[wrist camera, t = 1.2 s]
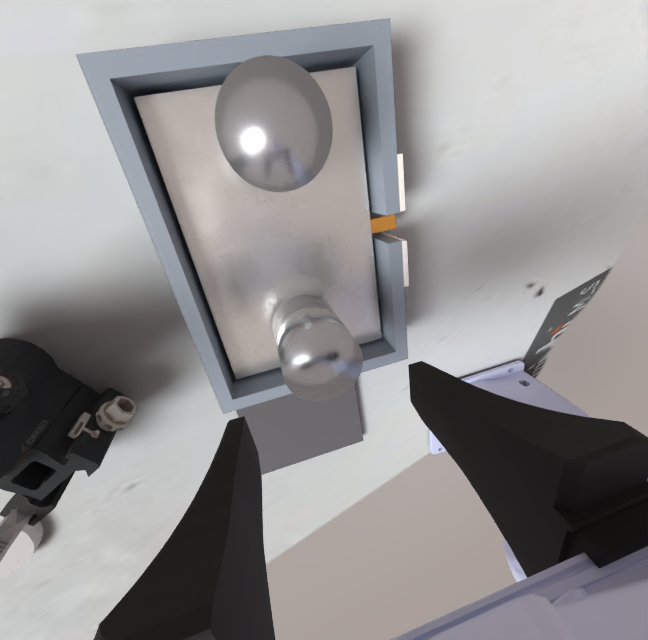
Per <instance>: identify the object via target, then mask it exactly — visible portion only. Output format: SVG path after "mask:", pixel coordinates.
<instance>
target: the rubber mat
mask: <svg viewBox="0 0 648 640" xmlns="http://www.w3.org/2000/svg"><path fill="white" fill-rule="evenodd" d="M236 411H237V414H238V417H243V416H245V419H246V422H247V424H248V427H249V429H250V432H251V435H252V437H253V440H254V442H255V445H256V448H257V450H258V455H259V462H260V469H261V475H262V474H265V473H268V472H271V471H274V470H277V469H280V468H283V467H286V466H289V465H292V464H295V463H298V462H301V461H304V460H307V459H310V458H313V457H316V456H319V455H322V454H325V453H328V452H331V451H334V450H337V449H340V448H343V447H346V446H349V445H352V444H355V443H358V442H361V441H363V435H362V428H361V422H360V415H359V409H358V402H357V395H356V389H355V383H354V384H353V385H352V386H351V387H350V388H349V389H348V390H347V391H346V392H344V393H343V394H341V395H339V396H337V397H335V398H333V399H329V400H325V401H309V400H305V399H302V398H300V397H298V396H296V395H295V394H293V393H292V394H288V395H285V396H282V397H278V398H275V399H272V400H268V401H265V402H262V403H258V404H255V405H252V406H248V407H245V408H242V409H238V410H236Z"/></svg>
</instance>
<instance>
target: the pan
mask: <svg viewBox="0 0 648 640" xmlns="http://www.w3.org/2000/svg"><path fill="white" fill-rule="evenodd" d="M309 74H310V75H311V76H312V77H313V78H314V79H315V80H316V82H317V83H318V85H319V86H320V88H321V89H322V91H323V93H324V95H325V97H326V99H327V102H328V105H329V108H330V111H331V117H332V125H333V137H332V144H331V148H330V152H329V155H328V158H327V160H326V162H325V164H324V166H323V168H322V169H321V171H320V172H319V173H318V174H317V175H316V177H315V178H314V179H313V180H311V181H310V182H309V183H308V184H306V185H304V186H303V187H301V188H298V189H296V190H292V191H288V192H271V191H266V190H263V189H260V188H257V187H254V186H252V185H250V184H248V183H246V182H244V181H243V180H242V179H240V178H239V177H238V176H237V175H236V174H235V173H234V171H233V170H232V169H231V167H230V166H229V164H228V162H227V160H226V158H225V156H224V154H223V152H222V150H221V148H220V145H219V142H218V139H217V134H216V129H215V106H216V100H217V97H218V93H219V91H220V88H221V86H222V85H218V86H211V87H203V88H196V89H189V90H182V91H174V92H167V93H160V94H153V95H145V96H138V97H134V99H135V102H136V104H137V107H138V110H139V113H140V116H141V118H142V121H143V124H144V127H145V129H146V132H147V135H148V138H149V140H150V143H151V146H152V149H153V151H154V154H155V157H156V160H157V162H158V165H159V168H160V171H161V173H162V176H163V179H164V182H165V185H166V187H167V190H168V193H169V196H170V198H171V201H172V204H173V207H174V209H175V212H176V215H177V218H178V220H179V223H180V226H181V229H182V231H183V234H184V237H185V240H186V243H187V245H188V248H189V251H190V254H191V256H192V259H193V262H194V265H195V267H196V270H197V273H198V276H199V278H200V281H201V284H202V287H203V289H204V292H205V295H206V298H207V300H208V303H209V306H210V309H211V312H212V314H213V317H214V320H215V323H216V325H217V328H218V331H219V334H220V336H221V339H222V342H223V345H224V347H225V350H226V353H227V356H228V358H229V361H230V364H231V367H232V369H233V372H234V375H235V378H236V379H240V378H243V377H247V376H250V375H254V374H257V373H261V372H264V371H268V370H271V369H275V368H278V367H281V364H280V360H279V356H278V352H277V348H276V344H275V339H274V335H273V331H272V322H273V318H274V315H275V313H276V311H277V310H278V308H279V307H280V306H281V305H282V304H283V303H284V302H286V301H287V300H289V299H290V298H293V297H295V296H299V295H314V296H317V297H320V298H322V299H323V300H325V301H326V302H327V303H328V304H329V305H330V307H331V308H332V309H333V311H334V312H335V313H336V315H337V316H338V317H339V319H340V320H341V321H342V323H343V324H344V325H345V327H346V328H347V329H348V331H349V332H350V333H351V335H352V336H353V337H354V339H355V340H356V341H357V343H358V344H363V343H366V342H370V341H373V340H377V339H380V338H382V337H381V326H380V316H379V305H378V295H377V285H376V274H375V264H374V253H373V243H372V234H373V233H377V232H382V231H386V230H391V229H395V228H396V220H395V214H391V215H387V216H386V215H381V216H377V217H372V218H370V212H369V201H368V191H367V180H366V170H365V159H364V149H363V139H362V128H361V118H360V107H359V97H358V86H357V76H356V67H349V68H341V69H334V70H327V71H320V72H312V73H309Z"/></svg>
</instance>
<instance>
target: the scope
mask: <svg viewBox="0 0 648 640" xmlns="http://www.w3.org/2000/svg"><path fill="white" fill-rule="evenodd" d="M136 410H137V407H136V405H135V404H134V402H133V400H131V399H130V398H128V397H126V396H124V395H123V394H121V393H119V392H118V391H116V390H114V389H113V388H108V389H107V390H106V391H105V392H104V394H103V396H101V395H100V394H98V393H97V392H96V391H94V390H93V389H92V388H90V387H89V386H87V385H85V384H82V382H80V381H79V380H77V379H75V378H74V377H72V376H70V375H68V374H67V373H65V372H63V371H62V370H60V369H58V367H57V365H56V364H55V362H54V360H53V359H52V357H51V356H50V355H48V354H47V353H46V352H45V351H44V350H43V349H41V348H39V347H37V346H35V345H34V344H31V343H28V342H25V341H21V340H15V339H0V489H2V490H5V491H9V492H14V493H16V494H15V495H14V496H13V497H12V498H11V499H10V501H9V502H8V503H7V504H6V506H5V507H4V509H3V510H2V511H1V513H0V516H3V517H4V519H3V520H2V522H1V523H0V562H1V560H2V559H3V557H4V556H5V554H6V552H7V551H8V549H9V548H10V546H11V545H12V543H13V542H14V541H15V539H16V538H17V536H18V535H19V533H20V532H21V531H22V529H23V528H24V526H25V525H26V524H27V522H28V521H29V522H28V525H30V526H35V525H36V524H37V523H38V522H39V521H40V520H42V519H43V518H44V517H45V516H46V515H47V514H49V513H50V512H51V511H52V510H53V509H54V508H55V507H56V505H57V503H58V501H59V500H60V498H61V496H62V494H63V492H64V490H65V489H66V487H67V485H68V483H69V481H70V480H71V478H72V476H73V474H74V472H75V471H80V470H86V472H87V475H88V477H89V476H90V475H91V474H92V473H93V472H95V471H96V470H97V469H98V468H99V467H100V465H101V463H102V461H103V459H104V456H105V454H106V452H107V450H108V448H109V446H110V444H111V442H112V440H113V438H114V435H115V433H116V431H117V430H122V429H123V428H125V427H126V426H127V425H128V424H129V423H130V420H131V418H132V417H133V416H134V414H135V412H136Z"/></svg>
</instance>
